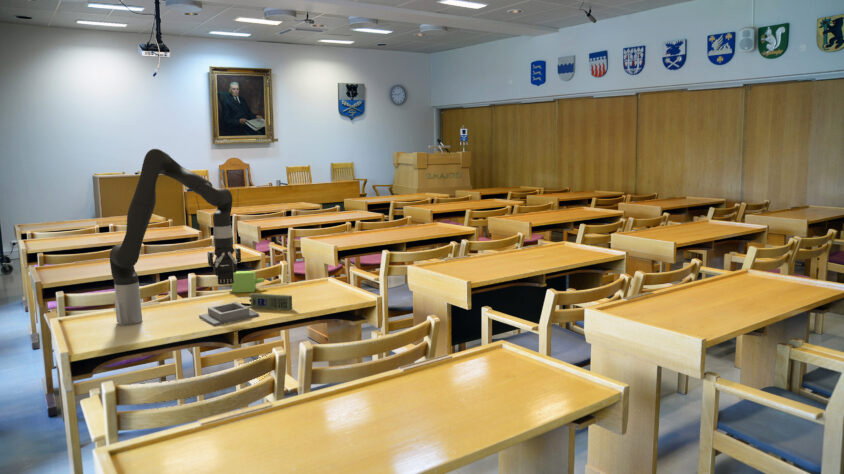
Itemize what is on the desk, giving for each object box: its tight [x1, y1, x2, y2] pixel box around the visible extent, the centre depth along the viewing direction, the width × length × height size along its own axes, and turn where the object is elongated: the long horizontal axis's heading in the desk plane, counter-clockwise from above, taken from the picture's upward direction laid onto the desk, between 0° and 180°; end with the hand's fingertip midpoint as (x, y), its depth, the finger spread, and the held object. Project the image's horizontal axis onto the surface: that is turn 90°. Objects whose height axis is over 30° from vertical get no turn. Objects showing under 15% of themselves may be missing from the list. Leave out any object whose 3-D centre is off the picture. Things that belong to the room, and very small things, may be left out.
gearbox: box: [231, 270, 265, 293], centre depth 314 cm, size 18×10×10 cm, turn 98°
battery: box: [217, 258, 234, 286], centre depth 267 cm, size 7×4×11 cm, turn 107°
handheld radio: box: [240, 292, 293, 311], centre depth 282 cm, size 7×3×25 cm
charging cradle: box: [198, 301, 260, 327], centre depth 270 cm, size 20×16×4 cm
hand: (225, 273), depth 267 cm, fingers closed on battery, 7 cm apart
